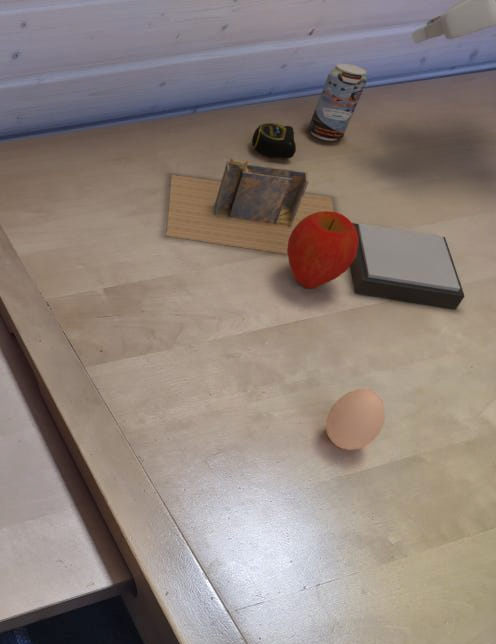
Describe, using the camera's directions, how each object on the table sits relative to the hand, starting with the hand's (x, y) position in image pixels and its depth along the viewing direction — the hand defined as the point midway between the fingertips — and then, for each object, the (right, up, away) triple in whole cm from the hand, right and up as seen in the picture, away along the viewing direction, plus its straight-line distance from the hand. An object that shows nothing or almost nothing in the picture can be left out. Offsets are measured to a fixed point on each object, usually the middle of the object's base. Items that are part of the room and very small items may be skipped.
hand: (421, 32), depth 108 cm
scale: (-8, -37, -9) cm, 39 cm away
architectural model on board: (-26, -28, -1) cm, 39 cm away
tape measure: (-18, -15, +12) cm, 26 cm away
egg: (-26, -59, -29) cm, 71 cm away
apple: (-22, -40, -11) cm, 47 cm away
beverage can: (-8, -11, +16) cm, 21 cm away
